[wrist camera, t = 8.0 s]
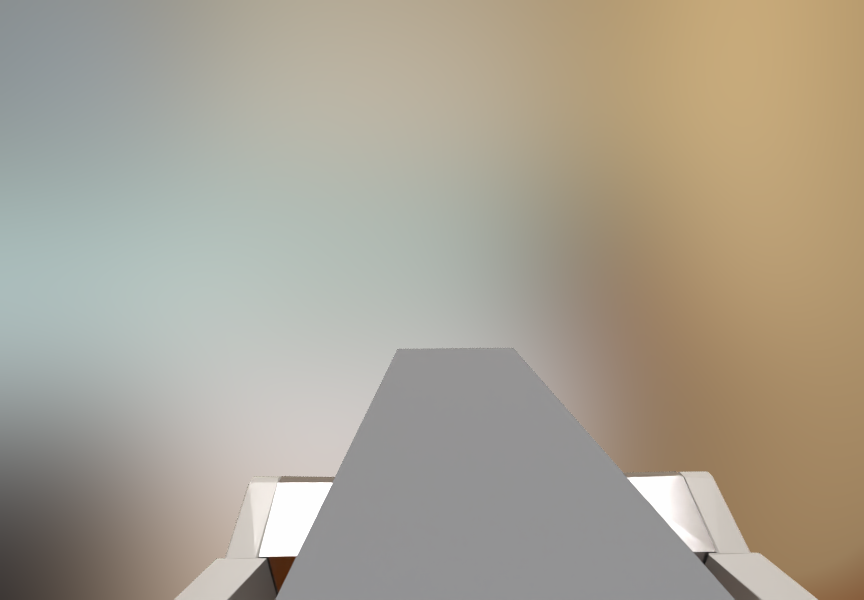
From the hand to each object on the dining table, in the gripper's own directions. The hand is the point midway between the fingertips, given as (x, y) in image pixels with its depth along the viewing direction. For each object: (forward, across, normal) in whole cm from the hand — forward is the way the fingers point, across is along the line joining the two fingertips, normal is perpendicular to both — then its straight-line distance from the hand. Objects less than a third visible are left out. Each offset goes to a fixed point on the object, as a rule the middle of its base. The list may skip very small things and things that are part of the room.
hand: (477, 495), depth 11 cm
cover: (+4, 0, +4) cm, 5 cm away
